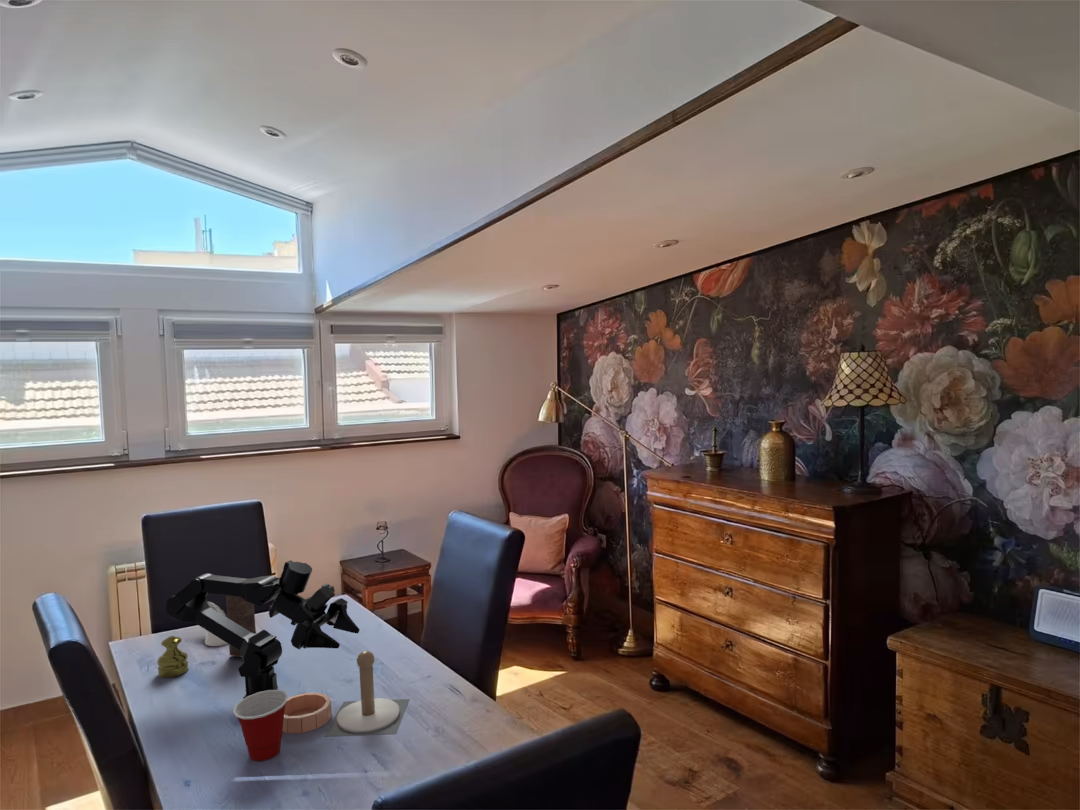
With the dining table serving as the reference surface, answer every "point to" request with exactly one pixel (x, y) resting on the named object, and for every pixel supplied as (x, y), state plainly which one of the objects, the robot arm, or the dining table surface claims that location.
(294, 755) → the dining table surface
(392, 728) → the mat
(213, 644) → the inkwell
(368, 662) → the peg stand
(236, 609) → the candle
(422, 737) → the dining table surface
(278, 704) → the plastic cup
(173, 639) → the olive green figurine
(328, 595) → the robot arm
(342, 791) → the dining table surface
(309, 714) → the bowl
